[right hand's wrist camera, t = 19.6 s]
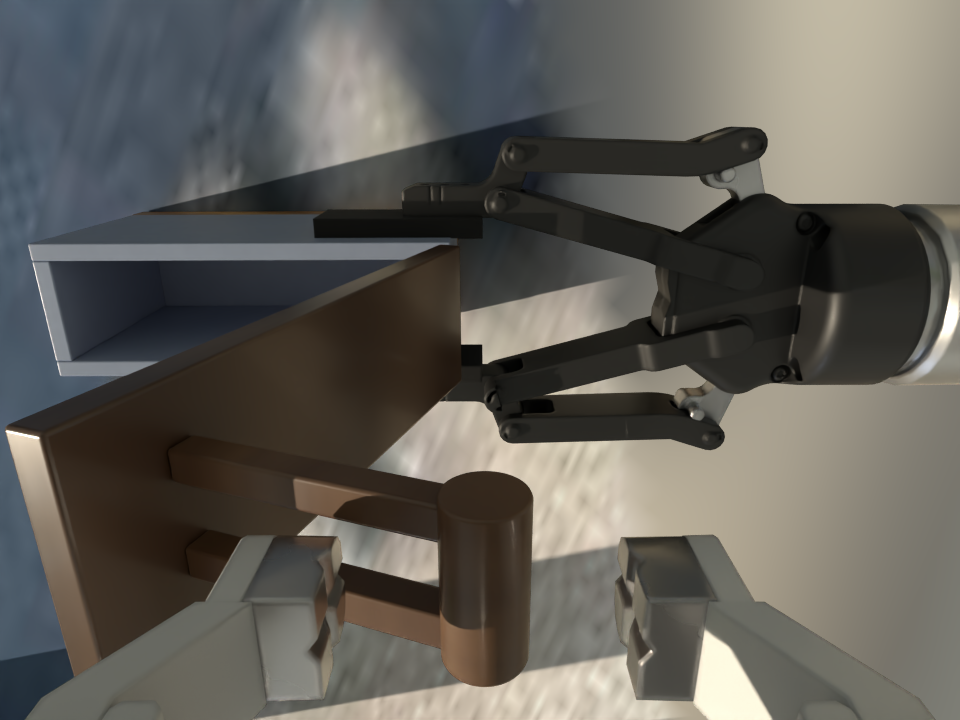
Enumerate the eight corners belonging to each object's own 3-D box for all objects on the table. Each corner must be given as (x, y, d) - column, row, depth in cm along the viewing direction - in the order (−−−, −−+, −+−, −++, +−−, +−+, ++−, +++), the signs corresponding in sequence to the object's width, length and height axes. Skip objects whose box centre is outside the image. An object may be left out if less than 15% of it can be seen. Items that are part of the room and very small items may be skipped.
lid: (77, 696, 12) (476, 852, 9) (-1, 425, 10) (473, 527, 7) (442, 378, 26) (636, 405, 23) (438, 243, 24) (649, 257, 21)
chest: (161, 314, 34) (59, 377, 26) (143, 211, 33) (27, 243, 24) (459, 313, 35) (453, 375, 26) (457, 210, 33) (450, 242, 24)
